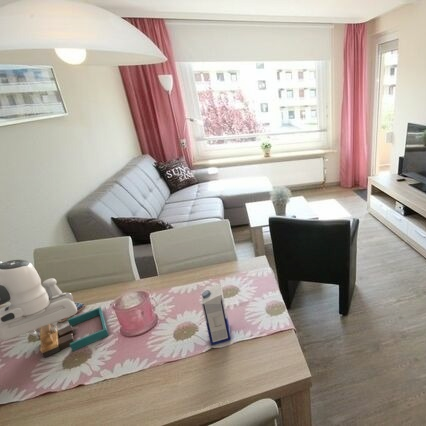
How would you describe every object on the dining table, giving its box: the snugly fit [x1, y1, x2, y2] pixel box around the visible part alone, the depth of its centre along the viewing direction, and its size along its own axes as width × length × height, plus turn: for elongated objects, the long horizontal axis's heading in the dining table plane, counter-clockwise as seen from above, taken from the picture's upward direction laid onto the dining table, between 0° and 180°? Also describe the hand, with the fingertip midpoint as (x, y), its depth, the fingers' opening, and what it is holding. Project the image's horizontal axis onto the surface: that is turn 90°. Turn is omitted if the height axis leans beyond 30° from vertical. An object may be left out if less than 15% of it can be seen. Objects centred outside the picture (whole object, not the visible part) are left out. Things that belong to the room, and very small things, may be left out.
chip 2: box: [58, 333, 75, 351], centre depth 107 cm, size 4×4×2 cm
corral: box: [67, 306, 109, 352], centre depth 113 cm, size 11×18×3 cm, turn 41°
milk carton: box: [201, 283, 232, 346], centre depth 104 cm, size 7×7×20 cm
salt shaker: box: [42, 277, 63, 297], centre depth 127 cm, size 6×6×13 cm
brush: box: [39, 324, 61, 358], centre depth 105 cm, size 4×12×7 cm, turn 41°
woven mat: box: [57, 301, 86, 323], centre depth 123 cm, size 10×11×2 cm
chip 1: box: [58, 325, 76, 338], centre depth 111 cm, size 4×4×2 cm
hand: (47, 334), depth 105 cm, fingers closed on brush, 2 cm apart
